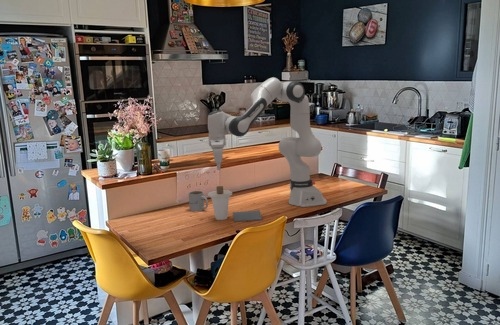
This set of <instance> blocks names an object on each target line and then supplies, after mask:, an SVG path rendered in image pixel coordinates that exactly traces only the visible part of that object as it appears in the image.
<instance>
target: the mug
mask: <svg viewBox="0 0 500 325" xmlns="http://www.w3.org/2000/svg"><path fill="white" fill-rule="evenodd" d="M188 202H189V203H188V204H189V205H188V206H189V211H190V212H193V213H194V212H195V213H196V212H197V213H198V212H202V211H204V210H205V209H208V206H209V200H208V198H207V197H206V196H205V194H204V191H202V190H193V191H190V192H188Z"/></svg>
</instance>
